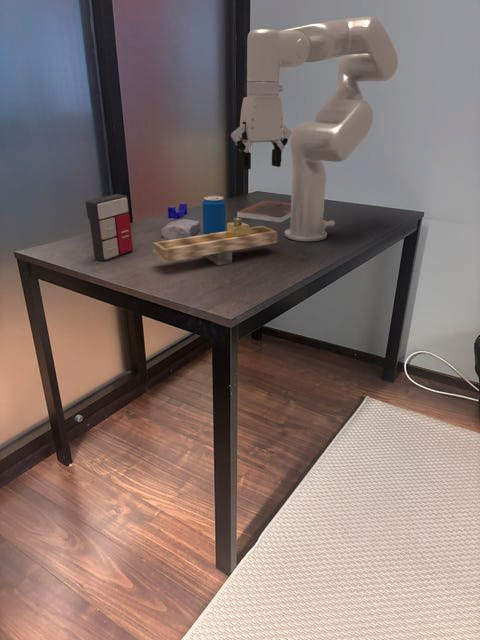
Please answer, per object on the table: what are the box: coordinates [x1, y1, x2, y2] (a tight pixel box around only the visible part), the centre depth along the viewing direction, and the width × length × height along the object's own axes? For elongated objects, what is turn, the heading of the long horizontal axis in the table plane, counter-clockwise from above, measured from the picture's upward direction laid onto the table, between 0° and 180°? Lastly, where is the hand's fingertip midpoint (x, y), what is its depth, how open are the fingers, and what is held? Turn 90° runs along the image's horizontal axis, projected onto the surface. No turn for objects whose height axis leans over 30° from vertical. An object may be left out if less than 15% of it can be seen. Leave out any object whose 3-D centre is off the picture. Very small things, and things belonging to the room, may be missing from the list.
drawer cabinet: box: [85, 193, 133, 262], centre depth 124 cm, size 11×4×15 cm, turn 148°
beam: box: [152, 225, 278, 266], centre depth 123 cm, size 32×8×6 cm, turn 120°
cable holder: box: [167, 202, 188, 220], centre depth 165 cm, size 8×4×4 cm, turn 148°
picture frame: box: [236, 200, 291, 223], centre depth 170 cm, size 16×2×22 cm
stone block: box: [160, 218, 201, 240], centre depth 145 cm, size 12×5×10 cm
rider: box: [226, 216, 250, 238], centre depth 124 cm, size 4×4×6 cm
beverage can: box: [202, 195, 227, 235], centre depth 138 cm, size 6×6×12 cm
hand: (261, 167), depth 120 cm, fingers open, 8 cm apart
